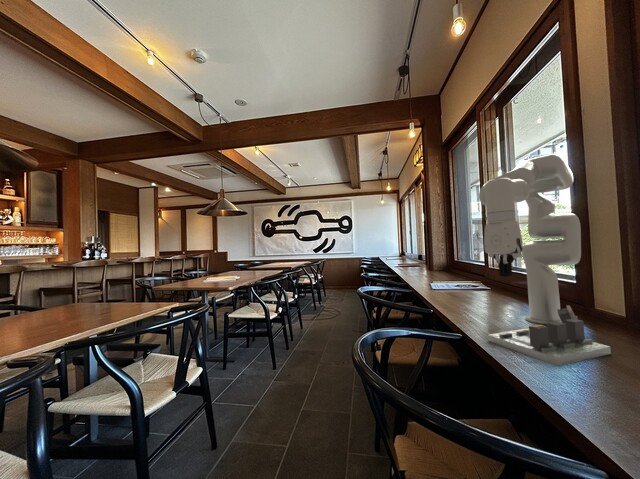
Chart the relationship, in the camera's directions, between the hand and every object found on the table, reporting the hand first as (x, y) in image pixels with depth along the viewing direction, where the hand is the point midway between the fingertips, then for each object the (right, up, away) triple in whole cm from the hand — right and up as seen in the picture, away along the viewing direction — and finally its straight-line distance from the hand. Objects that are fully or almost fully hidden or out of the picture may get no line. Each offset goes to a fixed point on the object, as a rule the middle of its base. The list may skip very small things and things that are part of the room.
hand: (505, 275), depth 87 cm
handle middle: (+10, -18, -8) cm, 22 cm away
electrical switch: (+25, -21, +5) cm, 33 cm away
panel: (+9, -21, -4) cm, 23 cm away
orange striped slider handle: (+3, -19, -9) cm, 21 cm away
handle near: (+17, -18, -6) cm, 25 cm away
